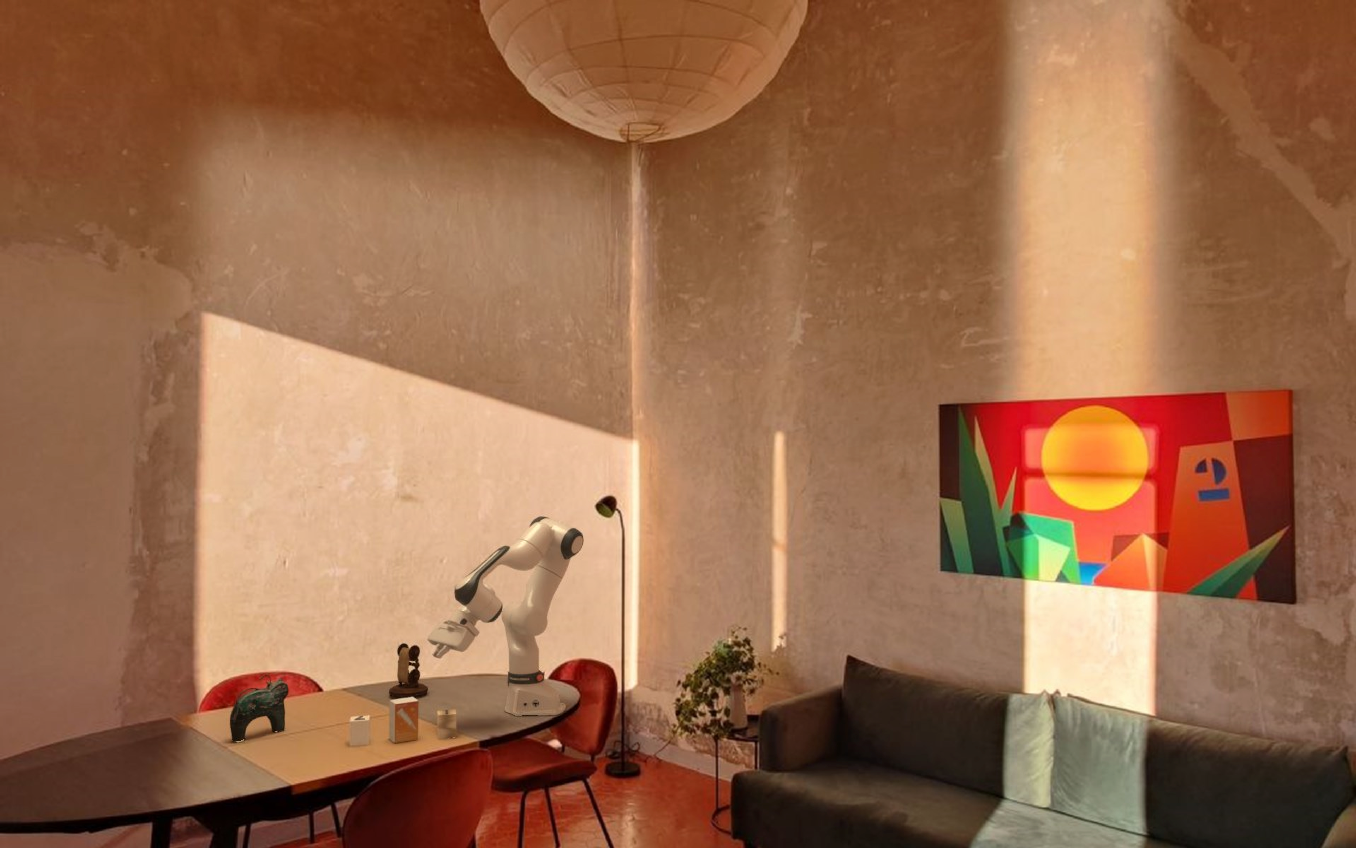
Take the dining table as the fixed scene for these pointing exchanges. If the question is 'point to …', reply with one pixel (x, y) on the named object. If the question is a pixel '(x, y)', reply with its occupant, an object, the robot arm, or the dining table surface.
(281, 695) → the bronze animal figurine
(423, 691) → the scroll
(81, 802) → the dining table surface
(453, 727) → the beech block
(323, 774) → the dining table surface
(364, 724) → the off-white block
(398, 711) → the small box
